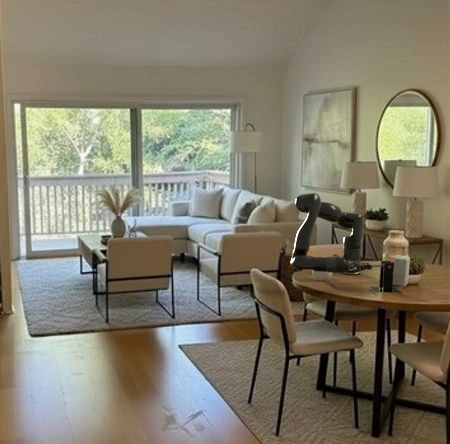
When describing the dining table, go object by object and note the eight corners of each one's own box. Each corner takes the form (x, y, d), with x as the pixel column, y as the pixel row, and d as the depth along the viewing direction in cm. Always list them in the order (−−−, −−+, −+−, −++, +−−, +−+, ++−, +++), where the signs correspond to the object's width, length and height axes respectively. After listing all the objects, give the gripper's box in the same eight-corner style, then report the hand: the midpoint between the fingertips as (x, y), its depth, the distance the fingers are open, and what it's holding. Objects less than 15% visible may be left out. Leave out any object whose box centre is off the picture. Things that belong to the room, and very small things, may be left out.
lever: (361, 271, 269) (361, 263, 268) (358, 269, 273) (358, 262, 272) (391, 270, 268) (391, 262, 268) (388, 268, 272) (388, 261, 271)
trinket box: (310, 276, 303) (311, 259, 301) (331, 277, 300) (332, 260, 299) (311, 281, 292) (312, 263, 291) (333, 282, 290) (334, 264, 289)
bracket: (376, 294, 267) (378, 264, 265) (369, 289, 277) (371, 259, 275) (402, 295, 267) (404, 264, 265) (394, 289, 277) (395, 259, 274)
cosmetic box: (395, 283, 288) (397, 254, 286) (408, 285, 285) (410, 256, 283) (392, 286, 281) (393, 257, 279) (405, 288, 278) (407, 259, 276)
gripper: (338, 260, 263) (375, 261, 263) (330, 254, 277) (365, 255, 277) (337, 276, 265) (374, 277, 264) (329, 269, 279) (364, 270, 278)
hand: (369, 266), depth 270 cm, fingers closed on lever, 3 cm apart
